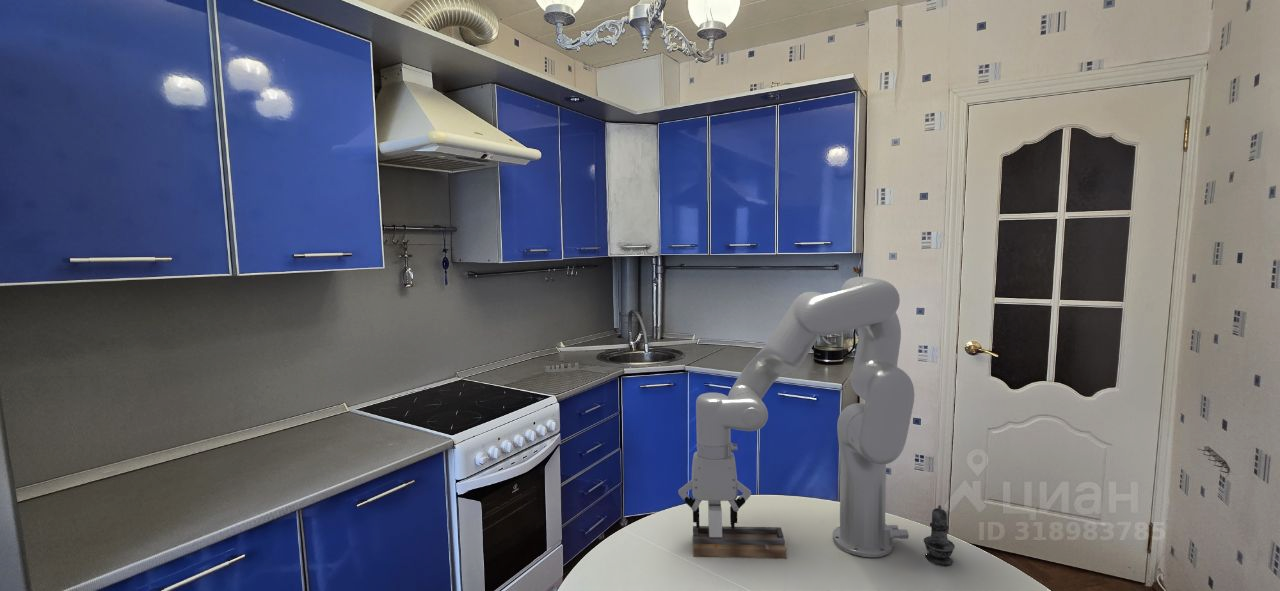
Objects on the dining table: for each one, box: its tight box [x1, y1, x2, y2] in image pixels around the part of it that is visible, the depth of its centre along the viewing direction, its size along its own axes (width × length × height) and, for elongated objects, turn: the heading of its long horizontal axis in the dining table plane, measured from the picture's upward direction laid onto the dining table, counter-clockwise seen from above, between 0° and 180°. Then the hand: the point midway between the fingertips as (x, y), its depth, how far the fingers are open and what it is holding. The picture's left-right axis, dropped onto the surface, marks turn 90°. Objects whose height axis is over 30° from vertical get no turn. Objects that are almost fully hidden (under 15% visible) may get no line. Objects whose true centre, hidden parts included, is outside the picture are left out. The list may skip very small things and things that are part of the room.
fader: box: [707, 501, 723, 537], centre depth 125 cm, size 3×6×8 cm, turn 175°
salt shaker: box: [923, 504, 956, 567], centre depth 118 cm, size 6×6×12 cm
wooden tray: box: [692, 525, 787, 560], centre depth 125 cm, size 20×9×4 cm, turn 85°
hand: (715, 524), depth 126 cm, fingers open, 7 cm apart
